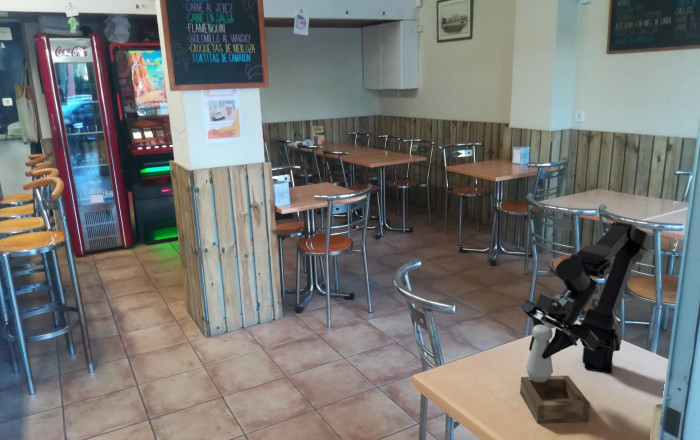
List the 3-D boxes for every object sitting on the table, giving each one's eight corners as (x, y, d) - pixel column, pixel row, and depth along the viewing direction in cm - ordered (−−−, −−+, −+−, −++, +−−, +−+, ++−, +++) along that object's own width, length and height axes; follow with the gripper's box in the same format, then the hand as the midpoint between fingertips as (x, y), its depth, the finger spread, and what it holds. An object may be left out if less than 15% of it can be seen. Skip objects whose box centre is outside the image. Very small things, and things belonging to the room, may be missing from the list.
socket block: (566, 391, 126) (568, 375, 125) (588, 421, 115) (590, 403, 114) (520, 393, 126) (521, 377, 125) (537, 423, 115) (538, 405, 114)
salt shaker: (553, 386, 117) (557, 335, 114) (526, 383, 119) (530, 332, 115) (550, 372, 123) (554, 322, 119) (524, 369, 124) (528, 320, 120)
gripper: (527, 268, 124) (490, 321, 122) (594, 295, 108) (552, 357, 106) (549, 291, 130) (513, 342, 128) (615, 321, 113) (576, 379, 112)
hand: (536, 354), depth 118 cm, fingers closed on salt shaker, 3 cm apart
